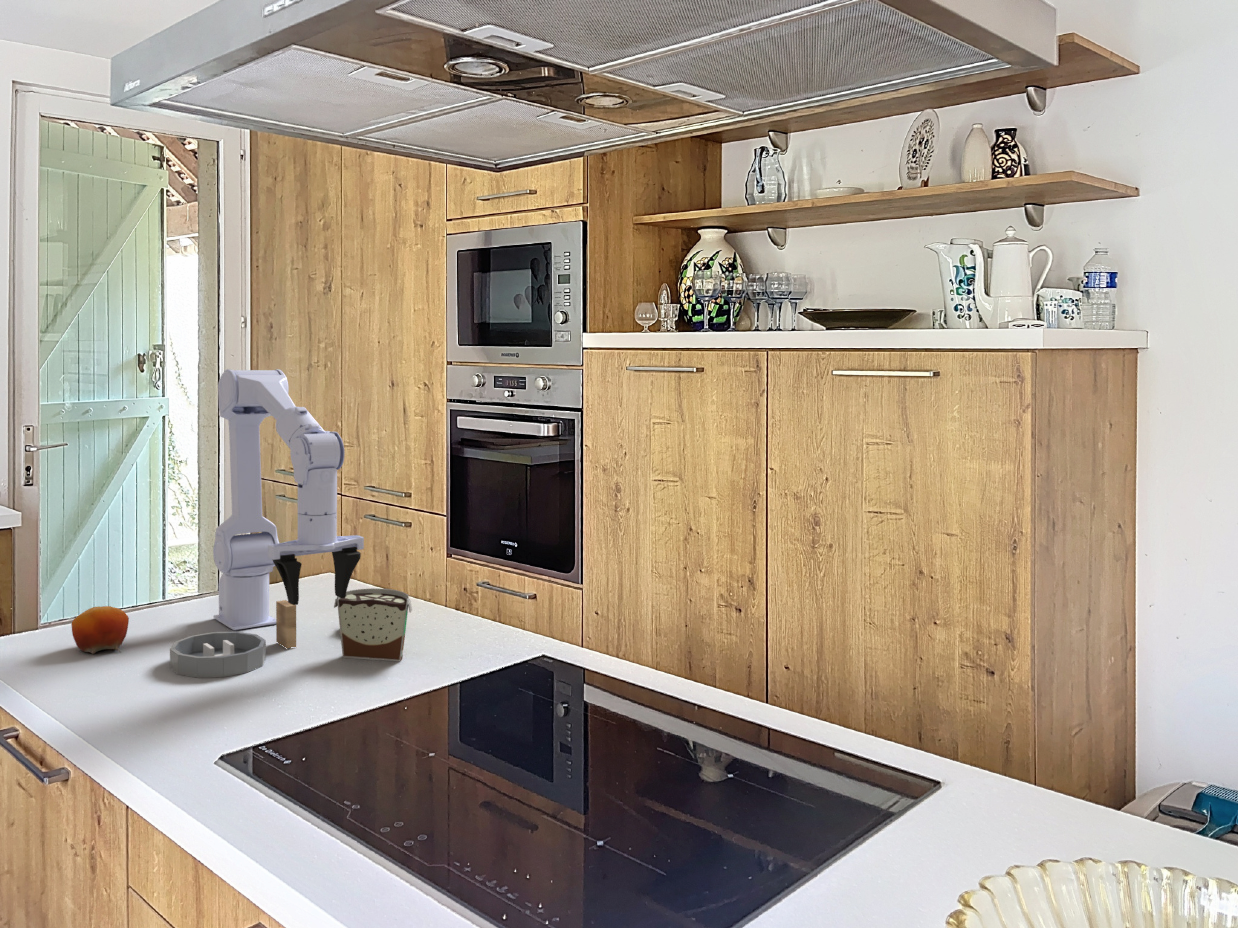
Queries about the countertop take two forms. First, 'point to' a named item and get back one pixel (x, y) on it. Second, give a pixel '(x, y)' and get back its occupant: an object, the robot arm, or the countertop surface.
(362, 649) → the food container
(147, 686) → the countertop surface
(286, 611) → the tan wooden beam
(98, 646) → the fruit
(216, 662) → the grey faceted hollow container
